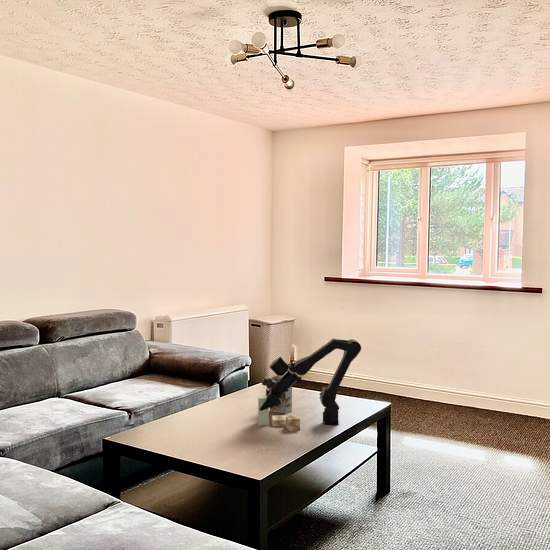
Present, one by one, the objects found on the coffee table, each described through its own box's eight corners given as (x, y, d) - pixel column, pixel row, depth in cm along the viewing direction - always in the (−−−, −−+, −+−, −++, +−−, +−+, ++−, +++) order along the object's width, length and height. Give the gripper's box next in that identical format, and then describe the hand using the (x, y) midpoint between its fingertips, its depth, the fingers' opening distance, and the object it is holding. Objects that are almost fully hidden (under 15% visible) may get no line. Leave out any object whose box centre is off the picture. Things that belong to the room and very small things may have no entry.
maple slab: (287, 421, 268) (287, 415, 267) (288, 426, 261) (288, 419, 260) (271, 422, 267) (271, 415, 267) (272, 426, 260) (272, 420, 260)
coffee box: (292, 410, 284) (292, 377, 283) (285, 414, 278) (285, 380, 277) (276, 408, 289) (276, 375, 288) (269, 411, 283) (269, 377, 282)
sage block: (268, 422, 266) (268, 395, 265) (268, 425, 261) (268, 398, 261) (258, 422, 266) (258, 395, 265) (258, 425, 261) (258, 398, 261)
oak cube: (296, 426, 260) (296, 415, 260) (300, 430, 255) (300, 418, 255) (285, 427, 259) (285, 416, 258) (288, 431, 254) (288, 419, 253)
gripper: (271, 366, 272) (247, 390, 272) (273, 375, 253) (247, 400, 253) (288, 383, 272) (264, 406, 273) (291, 393, 254) (265, 419, 254)
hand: (260, 407), depth 263 cm, fingers open, 6 cm apart
